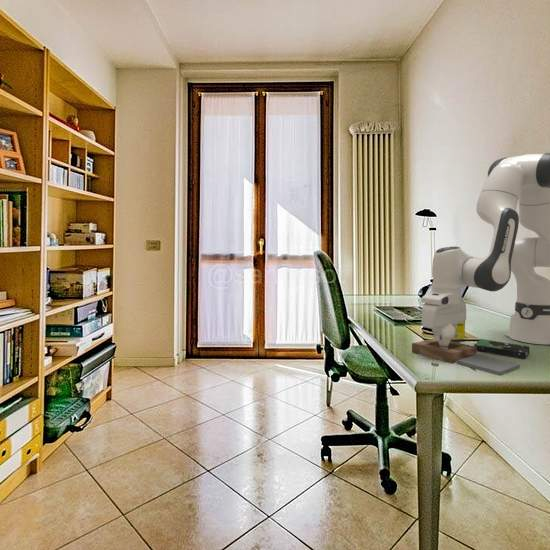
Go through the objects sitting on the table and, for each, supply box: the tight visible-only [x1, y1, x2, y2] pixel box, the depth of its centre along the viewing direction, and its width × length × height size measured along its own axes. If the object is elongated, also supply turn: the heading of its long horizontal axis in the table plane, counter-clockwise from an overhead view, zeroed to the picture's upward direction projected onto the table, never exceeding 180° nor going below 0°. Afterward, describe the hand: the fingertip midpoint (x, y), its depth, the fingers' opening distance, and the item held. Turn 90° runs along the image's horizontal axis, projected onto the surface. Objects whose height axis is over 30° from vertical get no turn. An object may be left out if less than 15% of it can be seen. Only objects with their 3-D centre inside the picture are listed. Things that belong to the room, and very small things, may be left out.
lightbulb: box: [438, 324, 455, 349], centre depth 118 cm, size 6×6×11 cm
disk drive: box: [473, 338, 530, 360], centre depth 122 cm, size 10×3×15 cm
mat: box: [456, 353, 521, 376], centre depth 107 cm, size 12×12×1 cm
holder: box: [411, 337, 477, 364], centre depth 119 cm, size 14×14×3 cm
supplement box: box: [450, 321, 466, 342], centre depth 138 cm, size 6×6×11 cm
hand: (444, 338), depth 118 cm, fingers closed on lightbulb, 6 cm apart
